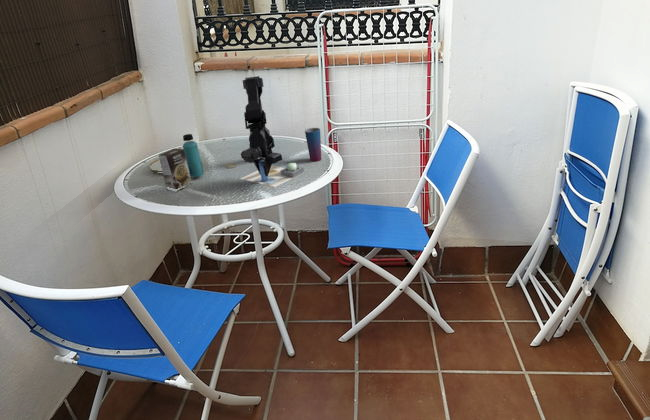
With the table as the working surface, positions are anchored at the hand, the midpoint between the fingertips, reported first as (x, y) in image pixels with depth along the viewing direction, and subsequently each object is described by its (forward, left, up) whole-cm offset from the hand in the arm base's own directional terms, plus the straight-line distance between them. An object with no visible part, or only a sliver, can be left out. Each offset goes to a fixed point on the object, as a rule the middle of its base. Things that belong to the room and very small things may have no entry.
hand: (264, 175), depth 202 cm
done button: (+5, +11, -1) cm, 13 cm away
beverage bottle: (-34, -9, -4) cm, 36 cm away
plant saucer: (-57, -4, -4) cm, 57 cm away
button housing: (+5, +11, -2) cm, 13 cm away
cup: (+4, +29, -4) cm, 29 cm away
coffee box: (-32, -20, -4) cm, 38 cm away
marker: (0, 0, -2) cm, 2 cm away
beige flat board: (-2, +6, -3) cm, 7 cm away
